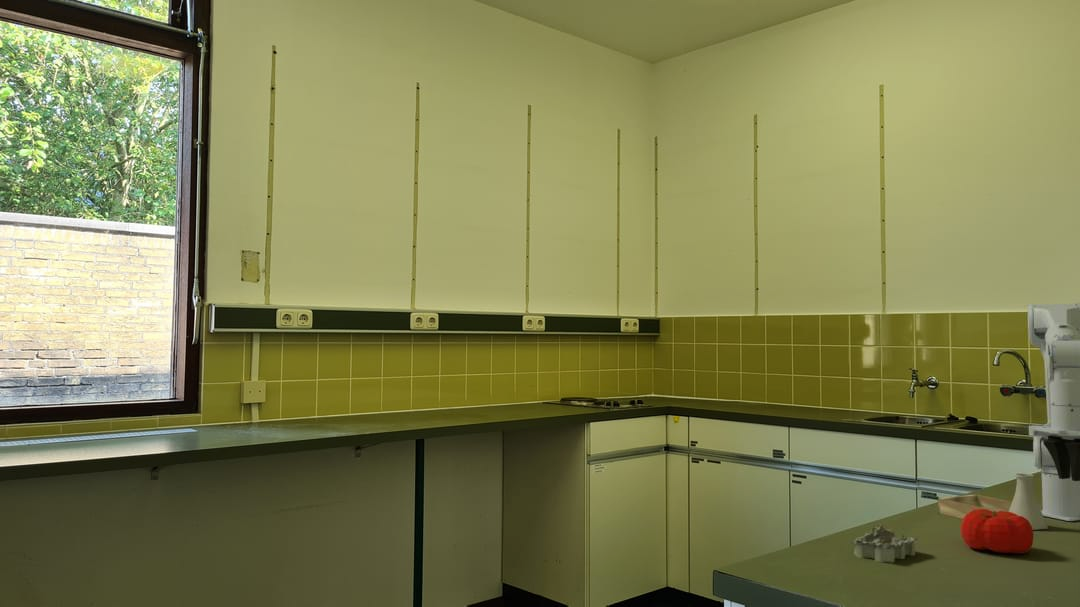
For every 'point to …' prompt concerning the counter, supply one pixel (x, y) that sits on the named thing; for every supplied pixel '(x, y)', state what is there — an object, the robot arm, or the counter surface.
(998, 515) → the tomato
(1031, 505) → the flask
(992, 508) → the oak frame
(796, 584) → the counter surface
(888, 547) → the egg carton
